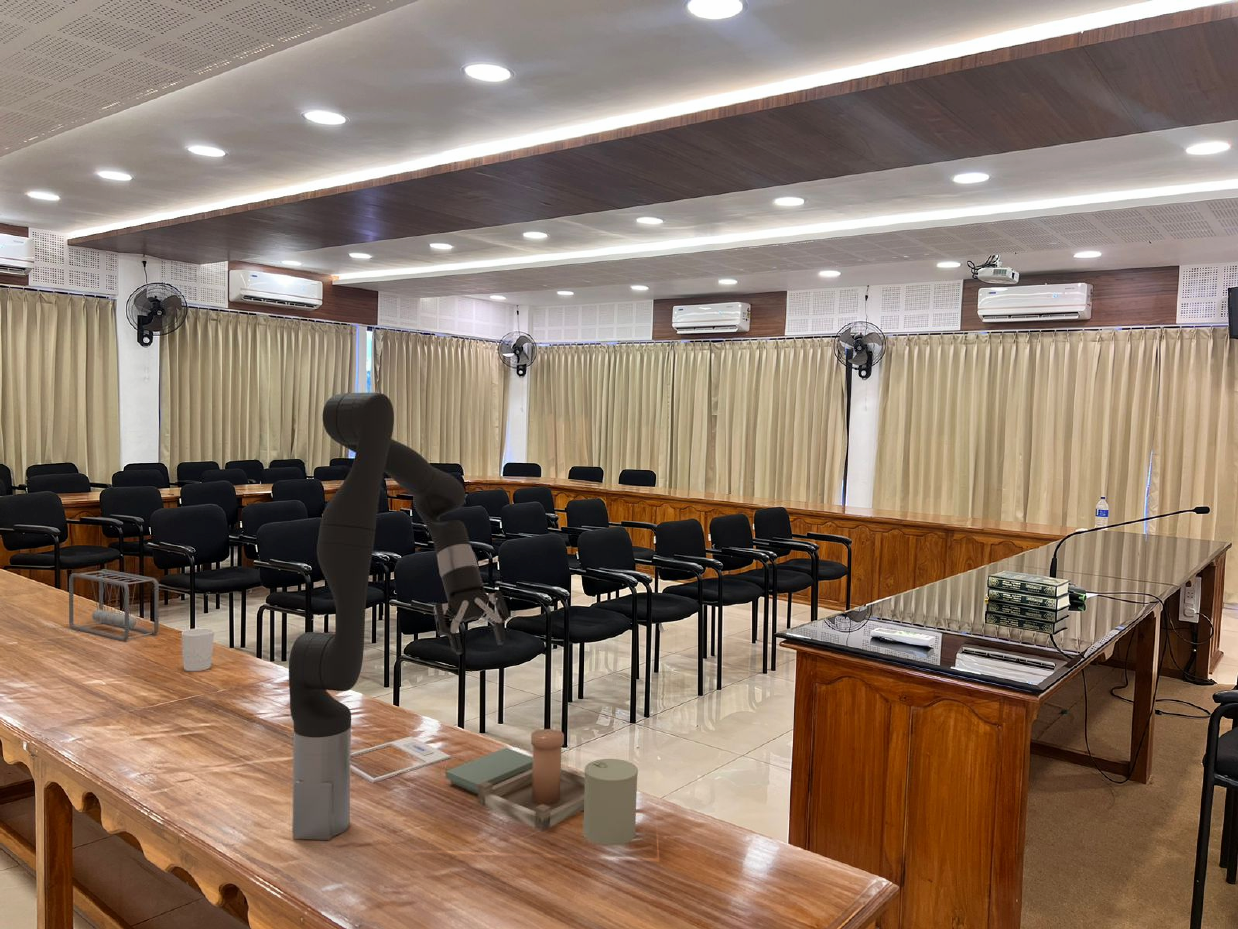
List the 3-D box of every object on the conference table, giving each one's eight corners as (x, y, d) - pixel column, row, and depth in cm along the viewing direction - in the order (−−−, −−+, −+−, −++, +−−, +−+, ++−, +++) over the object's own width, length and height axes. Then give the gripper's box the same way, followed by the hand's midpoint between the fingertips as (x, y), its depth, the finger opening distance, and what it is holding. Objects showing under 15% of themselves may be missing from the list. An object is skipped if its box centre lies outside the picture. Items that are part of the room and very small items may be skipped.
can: (606, 817, 154) (608, 751, 153) (647, 834, 148) (649, 766, 147) (570, 836, 146) (572, 766, 146) (612, 854, 141) (614, 782, 140)
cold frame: (611, 797, 162) (612, 776, 162) (542, 833, 147) (543, 810, 147) (548, 773, 172) (549, 754, 171) (477, 805, 156) (478, 784, 156)
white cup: (181, 665, 236) (182, 629, 236) (213, 662, 239) (213, 627, 239) (180, 673, 229) (180, 636, 228) (213, 670, 232) (213, 634, 232)
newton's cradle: (159, 635, 266) (159, 578, 265) (126, 642, 257) (126, 583, 256) (101, 622, 281) (101, 568, 280) (68, 628, 271) (68, 572, 270)
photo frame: (450, 755, 178) (372, 779, 165) (450, 760, 178) (372, 785, 165) (411, 735, 188) (334, 757, 175) (410, 740, 188) (334, 762, 175)
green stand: (537, 774, 171) (538, 759, 171) (478, 800, 159) (478, 784, 158) (505, 762, 177) (505, 747, 177) (445, 786, 164) (445, 771, 164)
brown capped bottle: (560, 806, 156) (562, 741, 155) (527, 805, 156) (529, 740, 156) (563, 792, 162) (565, 729, 161) (531, 791, 162) (533, 728, 162)
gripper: (429, 571, 167) (450, 651, 161) (497, 558, 174) (520, 635, 168) (421, 584, 173) (441, 662, 167) (487, 572, 180) (509, 646, 174)
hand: (481, 648), depth 167 cm, fingers open, 8 cm apart
